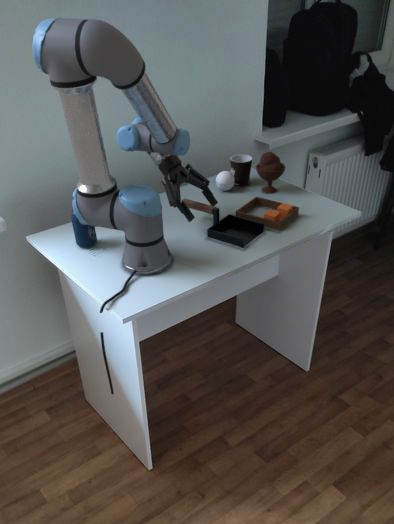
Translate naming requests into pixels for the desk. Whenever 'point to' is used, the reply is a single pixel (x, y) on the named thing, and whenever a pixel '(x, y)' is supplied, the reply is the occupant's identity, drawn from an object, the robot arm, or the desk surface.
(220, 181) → the white oval piece
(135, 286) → the desk surface
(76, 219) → the soda can
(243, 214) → the tray
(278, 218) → the block
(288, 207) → the block
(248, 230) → the pan
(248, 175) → the coffee mug
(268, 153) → the ice cream bowl
